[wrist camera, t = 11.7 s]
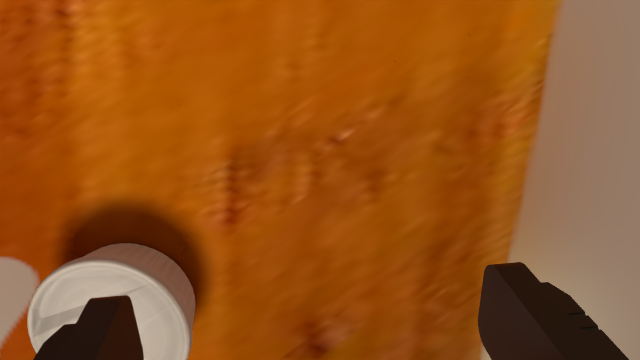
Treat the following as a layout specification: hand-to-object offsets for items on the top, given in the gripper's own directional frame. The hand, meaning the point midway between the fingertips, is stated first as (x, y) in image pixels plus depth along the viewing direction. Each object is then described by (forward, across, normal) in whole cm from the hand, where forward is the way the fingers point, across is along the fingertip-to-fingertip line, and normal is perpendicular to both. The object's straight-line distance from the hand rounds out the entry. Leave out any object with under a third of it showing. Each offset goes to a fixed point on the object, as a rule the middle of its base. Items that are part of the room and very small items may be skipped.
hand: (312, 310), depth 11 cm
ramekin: (+24, +12, +16) cm, 31 cm away
